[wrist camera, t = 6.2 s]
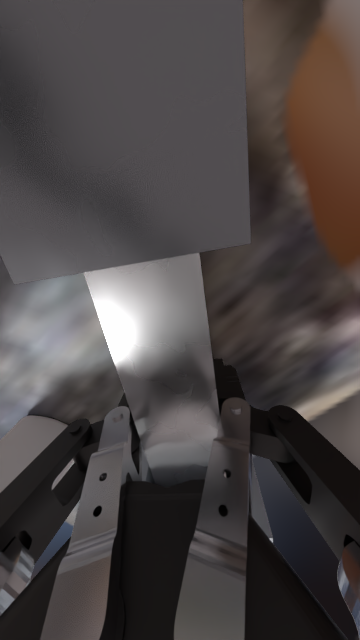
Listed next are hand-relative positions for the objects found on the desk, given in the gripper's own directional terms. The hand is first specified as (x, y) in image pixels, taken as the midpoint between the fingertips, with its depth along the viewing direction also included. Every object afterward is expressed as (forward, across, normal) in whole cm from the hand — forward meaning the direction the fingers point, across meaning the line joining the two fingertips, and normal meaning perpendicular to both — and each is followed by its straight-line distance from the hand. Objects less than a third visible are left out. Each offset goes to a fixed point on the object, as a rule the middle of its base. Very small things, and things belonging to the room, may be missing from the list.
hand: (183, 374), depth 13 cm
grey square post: (+1, 0, -2) cm, 2 cm away
